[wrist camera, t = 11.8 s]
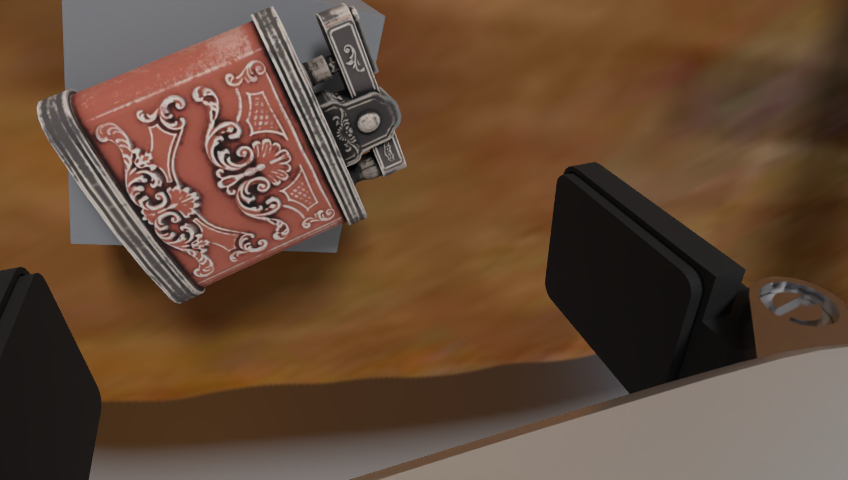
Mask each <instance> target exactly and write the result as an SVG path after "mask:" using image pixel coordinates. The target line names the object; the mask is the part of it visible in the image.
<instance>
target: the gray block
mask: <svg viewBox="0 0 848 480" xmlns="http://www.w3.org/2000/svg"><path fill="white" fill-rule="evenodd" d="M342 3H345V4H346V5H347V7H351V6H353V7H354V8H355V9H356V11H357V13H358V15H359V18H360V21H361V23H362V26H363V29H364V32H365V34H366V37H367V40H368V43H369V45H370V48H371V51H372V54H373V56H374V59H375V62H376V59H377V55H378V50H379V45H380V40H381V35H382V30H383V25H384V20H385V16H384V15H382V14H381V13H379V12H378V11H376V10H375V9H373V8H372V7H370V6H369V5H367V4H366V3H364V2H363V1H361V0H62V16H63V43H64V70H65V91H66V90H68V89H71V88H72V89H74V90H77V91H78V92H80V91H82V90H85V89H87V88H90V87H92V86H94V85H97V84H99V83H102V82H104V81H107V80H109V79H112V78H114V77H116V76H119V75H121V74H124V73H126V72H129V71H131V70H134V69H136V68H138V67H141V66H143V65H146V64H148V63H151V62H153V61H155V60H158V59H160V58H163V57H165V56H168V55H170V54H173V53H175V52H177V51H180V50H182V49H185V48H187V47H190V46H192V45H195V44H197V43H199V42H202V41H204V40H207V39H209V38H212V37H214V36H217V35H219V34H221V33H224V32H226V31H229V30H231V29H234V28H236V27H238V26H241V25H243V24H246V23H248V22H251V21H253V20H252V17H251V15H252V14H254V13H257V12H259V11H262V10H264V9H267V8H269V7H271V6H273V7H274V9H275V10H276V12H277V14H278V16H279V18H280V20H281V22H282V24H283V26H284V28H285V30H286V33H287V35H288V37H289V39H290V41H291V44H292V46H293V48H294V50H295V52H296V55H297V57H298V59H299V61H300V62H301V63H304V62H307V61H309V60H312V59H314V58H316V57H319V56H321V55H322V56H323V57H327V56H329V55H331V54H330V51H329V49H328V46H327V44H326V41H325V39H324V36H323V34H322V31H321V29H320V26H319V24H318V21H317V18H316V14H317V13H320V12H322V11H325V10H327V9H329V8H332V7H334V6H337V5H339V4H342ZM324 89H328V90H329V91H331V92H336V91H339V90H342V89H345V88H344V86H343V83H342V81H341V78H340V76H339V73H336V74H334V75H332V79H330V80H327V81H325V82H323V83H320V84H318V85H316V86H313V92H314V93H316V92H318V91H320V90H324ZM68 178H69V205H70V232H71V243H73V244H101V245H123V244H122V243H121V242H120V241H119V239H118V238H117V237H116V236H115V234H114V233H113V232H112V230H111V229H110V228H109V226H108V225H107V224H106V222H105V221H104V220H103V218H102V217H101V215H100V214H99V213H98V211H97V210H96V209H95V207H94V206H93V205H92V203H91V202H90V201H89V199H88V198H87V196H86V195H85V194H84V192H83V191H82V190H81V188H80V187H79V185H78V184H77V182H76V181H75V179H74V178H73V176H72V175H71V173H70V172H69V170H68ZM342 225H343V223H342V224H340V225H338V226H335V227H333V228H331V229H329V230H327V231H325V232H322V233H320V234H318V235H316V236H314V237H312V238H309V239H307V240H305V241H303V242H301V243H299V244H296V245H294V246H292V247H290V248H288V249H286V250H283V251H301V252H330V253H337V249H338V244H339V239H340V234H341V230H342Z"/></svg>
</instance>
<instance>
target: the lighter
mask: <svg viewBox="0 0 848 480" xmlns="http://www.w3.org/2000/svg"><path fill="white" fill-rule="evenodd" d="M251 17H252V20H253V21H251V22H248V23H246V24H243V25H241V26H238V27H236V28H234V29H231V30H229V31H226V32H224V33H221V34H219V35H217V36H214V37H212V38H209V39H207V40H204V41H202V42H199V43H197V44H195V45H192V46H190V47H187V48H185V49H182V50H180V51H177V52H175V53H173V54H170V55H168V56H165V57H163V58H160V59H158V60H155V61H153V62H151V63H148V64H146V65H143V66H141V67H138V68H136V69H134V70H131V71H129V72H126V73H124V74H121V75H119V76H116V77H114V78H112V79H109V80H107V81H104V82H102V83H99V84H97V85H94V86H92V87H90V88H87V89H85V90H82V91H80V92H78V91H77V90H74V89H72V88H71V89H68V90H66V91H63V92H61V93H58V94H56V95H54V96H51V97H49V98H46V99H44V100H41V101H39V102H38V106H37V113H38V119H39V121H40V124H41V126H42V129H43V131H44V133H45V135H46V137H47V138H48V140H49V142H50V143H51V145H52V146H53V148H54V149H55V151H56V152H57V154H58V155H59V157H60V158H61V160H62V161H63V163H64V164H65V166H66V167H67V169H68V170H69V172H70V173H71V175H72V176H73V178H74V179H75V181H76V182H77V184H78V185H79V187H80V188H81V190H82V191H83V192H84V194H85V195H86V196H87V198H88V199H89V201H90V202H91V203H92V205H93V206H94V207H95V209H96V210H97V211H98V213H99V214H100V215H101V217H102V218H103V220H104V221H105V222H106V224H107V225H108V226H109V228H110V229H111V230H112V232H113V233H114V234H115V236H116V237H117V238H118V239H119V241H120V242H121V243H122V244H123V245H124V247H125V248H126V249H127V250H128V251H129V253H130V254H131V255H132V256H133V258H134V259H135V260H136V261H137V262H138V264H139V265H140V266H141V267H142V268H143V270H144V271H145V272H146V273H147V274H148V275H149V276H150V277H151V278H152V280H153V281H154V282H155V283H156V284H157V285H158V286H159V287H160V288H161V289H162V290H163V291H164V293H165V294H166V295H167V296H168V297H169V298H170V299H171V300H173V301H174V302H175V303H178V304H181V303H183V302H185V301H187V300H189V299H191V298H194V297H196V296H198V295H200V294H202V293H204V292H205V288H206V286H208V285H210V284H212V283H214V282H216V281H219V280H221V279H223V278H225V277H227V276H229V275H232V274H234V273H236V272H238V271H240V270H242V269H245V268H247V267H249V266H251V265H253V264H255V263H257V262H260V261H262V260H264V259H266V258H268V257H270V256H273V255H275V254H277V253H279V252H281V251H283V250H286V249H288V248H290V247H292V246H294V245H296V244H299V243H301V242H303V241H305V240H307V239H309V238H312V237H314V236H316V235H318V234H320V233H322V232H325V231H327V230H329V229H331V228H333V227H335V226H338V225H340V224H342V223H344V222H346V221H348V223H349V225H351V224H353V223H356V222H358V221H360V220H362V219H364V218H366V217H367V214H366V212H365V209H364V207H363V204H362V202H361V200H360V197H359V195H358V193H357V190H356V188H355V185H356V183H357V182H359V181H361V180H367V179H374V178H377V177H379V176H381V175H382V176H383V177H385V176H387V175H390V174H392V173H394V172H396V171H398V170H401V169H403V168H405V167H407V164H406V161H405V158H404V156H403V153H402V150H401V147H400V145H399V142H398V139H397V137H396V134H395V129H396V128H397V127H398V126H399V124H400V122H401V112H400V109H399V106H398V104H397V102H396V101H395V100H394V99H393V98H392V97H390V96H389V95H388V94H387V93H386V92H385V91H384V90H383V89H382V88H381V87H379V86H378V85H377V82H376V79H375V77H374V74H376V73H378V72H379V70H378V68H377V65H376V62H375V59H374V56H373V54H372V51H371V48H370V45H369V43H368V40H367V37H366V34H365V32H364V29H363V26H362V23H361V21H360V18H359V15H358V13H357V11H356V9H355V8H354V7H353V6H351V7H347V5H346V4H345V3H342V4H339V5H337V6H334V7H332V8H329V9H327V10H325V11H322V12H320V13H317V14H316V18H317V21H318V24H319V26H320V29H321V31H322V34H323V36H324V39H325V41H326V44H327V46H328V49H329V51H330V54H331V55H329V56H327V57H323V56H322V55H321V56H319V57H316V58H314V59H312V60H309V61H307V62H304V63H301V62H300V61H299V59H298V57H297V55H296V52H295V50H294V48H293V46H292V44H291V41H290V39H289V37H288V35H287V33H286V30H285V28H284V26H283V24H282V22H281V20H280V18H279V16H278V14H277V12H276V10H275V9H274V7H273V6H271V7H269V8H267V9H264V10H262V11H259V12H257V13H254V14H252V15H251ZM336 73H339V76H340V78H341V81H342V83H343V86H344V88H345V89H342V90H339V91H336V92H331V91H329V90H328V89H324V90H320V91H318V92H316V93H314V92H313V86H316V85H318V84H320V83H323V82H325V81H327V80H330V79H332V75H334V74H336ZM367 150H370V152H368V153H366V154H364V155H362V153H363V152H365V151H367ZM361 155H362V156H361Z"/></svg>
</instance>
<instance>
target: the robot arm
mask: <svg viewBox="0 0 848 480" xmlns="http://www.w3.org/2000/svg"><path fill="white" fill-rule="evenodd" d="M745 270H746V269H744V268H743V267H741V266H740V265H739V264H737V263H736V262H735V261H733V260H732V259H730V258H729V257H728V256H726V255H725V254H723V253H722V252H721V251H719V250H718V249H716V248H715V247H714V246H712V245H711V244H710V243H708V242H707V241H705V240H704V239H703V238H701V237H700V236H698V235H697V234H696V233H694V232H693V231H691V230H690V229H689V228H687V227H686V226H685V225H683V224H682V223H680V222H679V221H678V220H676V219H675V218H673V217H672V216H671V215H669V214H668V213H667V212H665V211H664V210H662V209H661V208H660V207H658V206H657V205H655V204H654V203H653V202H651V201H650V200H648V199H647V198H646V197H644V196H643V195H642V194H640V193H639V192H637V191H636V190H635V189H633V188H632V187H630V186H629V185H628V184H626V183H625V182H623V181H622V180H621V179H619V178H618V177H617V176H615V175H614V174H612V173H611V172H610V171H608V170H607V169H605V168H604V167H603V166H601V165H600V164H598V163H596V162H593V163H587V164H581V165H576V166H570V167H568V168H567V169H566V170H565V172H564V174H563V175H561V176H560V177H559V178H558V180H557V185H556V194H555V202H554V211H553V219H552V228H551V236H550V245H549V253H548V262H547V270H546V279H545V286H546V290H547V293H548V295H549V297H550V299H551V300H552V301H553V302H554V303H555V305H556V306H557V307H558V308H559V309H560V311H561V312H562V313H563V314H564V316H565V317H566V318H567V319H568V320H569V322H570V323H571V324H572V325H573V326H574V328H575V329H576V330H577V331H578V332H579V334H580V335H581V336H582V337H583V338H584V340H585V341H586V342H587V343H588V344H589V346H590V347H591V348H592V349H593V350H594V352H595V353H596V354H597V355H598V356H599V358H600V359H601V360H602V361H603V362H604V364H605V365H606V366H607V367H608V368H609V370H610V371H611V372H612V373H613V374H614V376H615V377H616V378H617V379H618V380H619V382H620V383H621V384H622V385H623V386H624V388H625V389H626V390H627V391H628V392H629V394H628V395H625V396H622V397H619V398H615V399H612V400H609V401H606V402H602V403H599V404H595V405H592V406H589V407H586V408H582V409H579V410H575V411H572V412H569V413H565V414H563V415H559V416H556V417H552V418H549V419H546V420H542V421H539V422H536V423H533V424H529V425H526V426H523V427H520V428H516V429H513V430H510V431H506V432H503V433H500V434H497V435H493V436H490V437H487V438H484V439H480V440H477V441H474V442H470V443H467V444H464V445H461V446H457V447H454V448H451V449H448V450H444V451H441V452H438V453H435V454H431V455H428V456H425V457H422V458H419V459H415V460H412V461H409V462H406V463H402V464H399V465H396V466H393V467H390V468H386V469H383V470H380V471H377V472H373V473H370V474H367V475H364V476H360V477H357V478H354V479H350V480H848V308H847V306H846V305H845V304H844V303H843V302H842V301H841V300H840V299H839V298H838V297H837V296H836V295H834V294H832V293H831V292H829V291H827V290H826V289H824V288H822V287H820V286H817V285H815V284H812V283H810V282H807V281H804V280H800V279H796V278H791V277H781V276H774V277H765V278H762V279H759V280H756V281H755V282H754V283H753V284H752V285H751V286H750V288H747V287H746V286H745V285H743V284H742V283H741V281H742V278H743V275H744V273H745ZM100 413H101V396H100V392H99V389H98V387H97V385H96V383H95V381H94V378H93V376H92V374H91V372H90V370H89V368H88V366H87V364H86V362H85V360H84V358H83V356H82V354H81V352H80V350H79V348H78V346H77V344H76V342H75V340H74V338H73V336H72V334H71V332H70V330H69V328H68V326H67V324H66V322H65V319H64V317H63V315H62V313H61V311H60V309H59V307H58V305H57V303H56V301H55V299H54V297H53V295H52V293H51V291H50V289H49V287H48V285H47V283H46V281H45V279H44V278H43V276H42V275H41V274H39V273H35V274H30V273H29V272H28V271H27V270H26V269H25V268H22V267H18V268H13V269H7V270H2V271H0V480H89V474H90V469H91V463H92V457H93V452H94V446H95V440H96V435H97V430H98V424H99V418H100Z"/></svg>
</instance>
